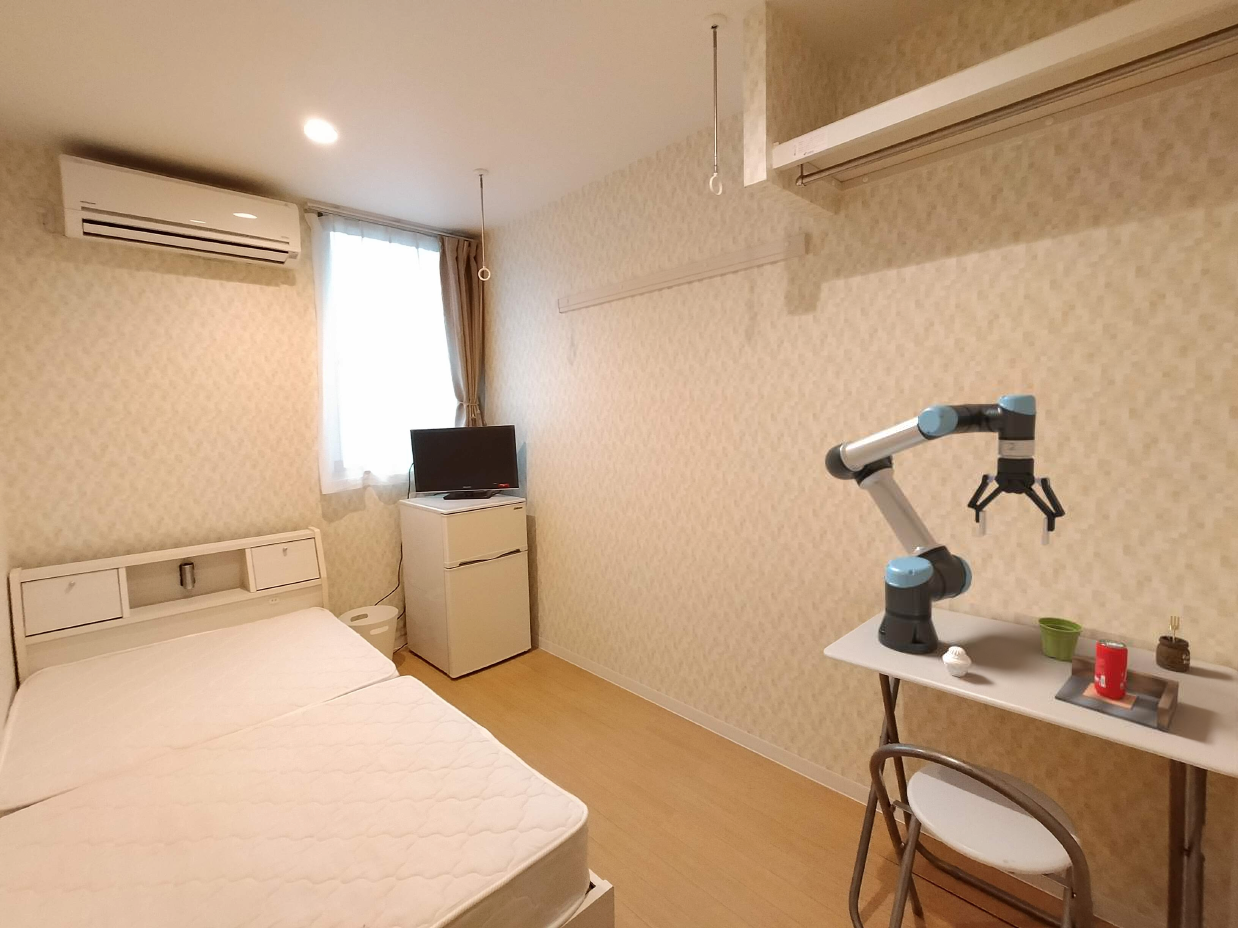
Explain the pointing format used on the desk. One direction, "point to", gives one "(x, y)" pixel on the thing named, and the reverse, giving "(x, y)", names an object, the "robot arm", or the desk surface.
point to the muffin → (956, 661)
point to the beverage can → (1111, 669)
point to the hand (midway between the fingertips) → (1012, 539)
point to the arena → (1142, 701)
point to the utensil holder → (1173, 651)
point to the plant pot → (1059, 637)
